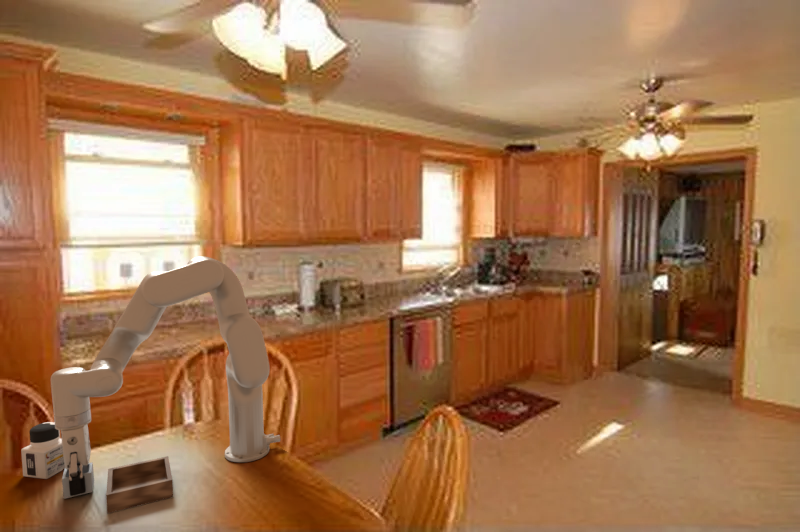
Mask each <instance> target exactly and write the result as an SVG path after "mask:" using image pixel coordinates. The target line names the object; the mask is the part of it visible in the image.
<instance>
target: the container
mask: <svg viewBox="0 0 800 532" xmlns="http://www.w3.org/2000/svg"><path fill="white" fill-rule="evenodd" d="M28 433H29V445H27V446H24V447H23V448H21V451H20V452H21V454H20V455H21V462H22V464H21V465H22V466H21V467H22V476H23V477H25V478H26V477H27V478H32V479H33V478H34V479H40V480H42V479H44V480H48V479H50V478H51V477H53V476H55V475H57V474H58V473H60V472H62V471H64V470H63V469H65V465H64V457H63V448H62V438H61V430H57V429H55V422H54V421H47V422H42V423H39V424H36V425H34V426H33V427H31V428H30V430H29V431H28Z"/></svg>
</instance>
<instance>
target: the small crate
mask: <svg viewBox="0 0 800 532" xmlns="http://www.w3.org/2000/svg"><path fill="white" fill-rule="evenodd" d="M77 469H78V471H79V472H80V468H77ZM83 476H85V487H86V492H85V493H82V494H78V495H73V496H70V489H69V469H66V468H65V469H64V470H63V474H62V477H61V478H62V479H61V482H62V492H63V494H62V495H63V499H69V498H72V497H77V496H81V495H85V494H88V493H89V494H90V493H93V492H94V484H95V475H94V463H93V462H89V464H88V465H83Z"/></svg>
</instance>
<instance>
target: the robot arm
mask: <svg viewBox="0 0 800 532" xmlns="http://www.w3.org/2000/svg"><path fill="white" fill-rule="evenodd" d="M208 293H209V294H210V296H211V299H212V302H213V306H214V309H215V313H216V317H217V322H218V328H219V333H220V337H221V338H222V340H223V342H224V343H226V345H227V350H228V355H227V356H226V360H225V375H226V384H227V395H228V396H227V399H228V426H229V446H228V447H226V449H225V450H224V458H226V460H228V461H230V462H232V463H233V462H234V463H248V462H254V461H256V460H260V459H262V458H264V457H265V456H266V455H267V454H269V452H270V445H271V444H273V443H280V442H281V435H280V434H277V435H274V433H269V434H265V433H264V432H265V431H264V427H265V426H264V402H263V400H264V398H263V397H264V396H263V385H264V383H265V384H266V381H267V380H268V378H269V376H270V371H271V370H270V369H271V367H270V361H269V356H268V352H267V348H266V347H267V346H266V342H265V337H264V334H263V332H262V328H261V326H260V324H259V323H258V321H257V320H256V319H255V318H253V317H252V316H251V313H250V310H249V307H248V304H247V303H248V302H247V299H246V296H245V292H244V289H243V286H242V284H241V281H240V279H239V277H238V276H237V275H236V273H235V272H234V271H233V270H232V269H231V268H230V267H229V266H227V264H225V263H223V262H222V261H220V260H218V259H215V258H212V257H209V256H205V255H204V256H202V255H200V256H195V257H193V258H191V259H190V260H189V261H188V262H187V264H186V265H184V266H181V267H177V268H174V269H171V270H168V271H161V270H159V271H158V270H156V271H151V272H149V273H148V274H147V275H145V276H144V277H143V279H142V280H141V281H140V283H139V285H138V287H137V289H136V290H135V292H134V293H133V295H132V297H131V299H130V300H129V302H128V303H127V305H126V307H125V308H124V310H123V313H122V314H121V315H120V317H119V318H118V320H117V322H116V324H115V326H114V327H113V329H112V331H111V333H110V335H109V336H108V338H107V339H106V340H105V342H104V344H103V345H102V347H101V349H100V350H99V352H98V354H97V356H96V357H95V359H94V360H93V363H92V364H91V367H90V368H89V370H86V369H85V368H83V367H79V366H72V367H66V368H62V369H59V370H56V371H54V372H53V373H52V375H51V376H50V388H51V389H50V390H51V398H52V407H53V409H52V410H53V420H54V421H53V422H55V429H57V430H59V431H60V438H61V439H62V448H63V457H64V465H65V468H66V469H69V489H70V496H73V495H77V496H79V495H78V494H81V495H83V494H82V493H85V492H86V487H85V476H83V465H88V464H89V463H90V459H91V452H92V449H91V441H90V433H89V427H88V425H89V424H90V423H92V412H91V403H90V401H91V400H90V398H102V397H109V396H112V395H114V394H115V393H117V392H119V390H120V389H121V388H122V386H123V383H124V375H123V372H124V370H125V369H126V367H127V365H128V363H129V361H130V360H131V359H132V358H131V357H132V356H133V354H134V353H135V352H136V350H137V348H138V347H139V346H140V345H141V344H142V343H143V342H144V341H147V340H148V339H149V337H150V336H151V335H152V334H153V332H154V331H155V328H156V327H157V325H158V323H159V322H160V320H161V318H162V316H163V314H164V313H165V311H166V309H167V307H170V306H173V305H176V304H179V303H182V302H185V301H188V300H191V299H193V298H195V297H199V296H202V295H205V294H208ZM77 468H80V472H79V471H78V469H77ZM85 494H86V493H85ZM73 497H74V496H73Z"/></svg>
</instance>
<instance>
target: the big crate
mask: <svg viewBox="0 0 800 532" xmlns="http://www.w3.org/2000/svg"><path fill="white" fill-rule="evenodd" d="M170 464H171V463H170V458H169V456H168V455H167V456H163V457H157V458H154V459H153V458H152V459H148V460H144V461H139V462H134V463H129V464H126V465H125V464H124V465H120V466H116V467H115V466H114V467H111V468H108V469H107V479H106V480H107V481H106V493H105V498H106V500H105V501H106V513H107V514H111V513H116V512H120V511H122V510H127V509H131V508H135V507H139V506H144V505H147V504H151V503H155V502H159V501H164V500H167V499H172V498H174V486H173V485H174V484H173V483H174V482H173V477H172V476H173V475H172V471H171V465H170Z"/></svg>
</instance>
